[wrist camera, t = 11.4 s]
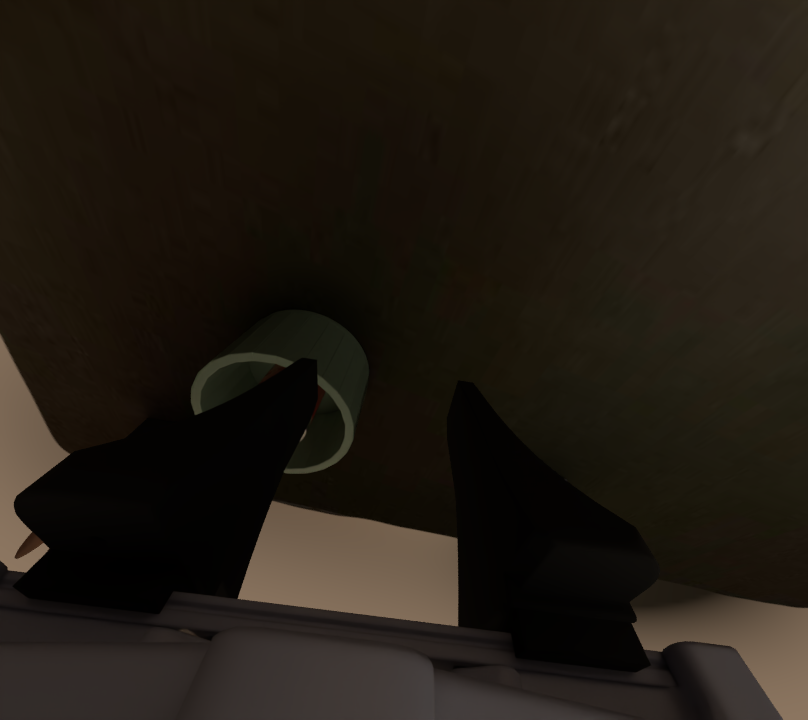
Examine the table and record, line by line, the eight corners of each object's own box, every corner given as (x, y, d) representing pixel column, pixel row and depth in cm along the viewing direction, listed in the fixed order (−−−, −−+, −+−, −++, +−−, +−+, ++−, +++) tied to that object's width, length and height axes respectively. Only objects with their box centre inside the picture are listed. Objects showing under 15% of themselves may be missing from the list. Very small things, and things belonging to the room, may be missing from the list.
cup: (374, 320, 22) (357, 367, 16) (365, 421, 27) (350, 482, 22) (235, 299, 21) (169, 339, 16) (254, 405, 27) (210, 463, 21)
